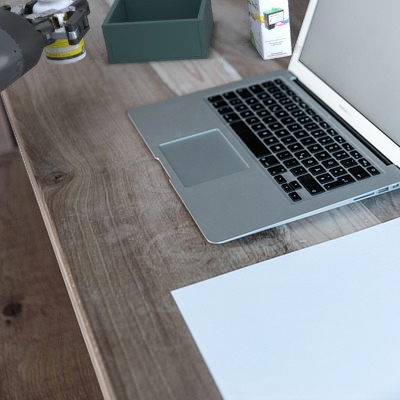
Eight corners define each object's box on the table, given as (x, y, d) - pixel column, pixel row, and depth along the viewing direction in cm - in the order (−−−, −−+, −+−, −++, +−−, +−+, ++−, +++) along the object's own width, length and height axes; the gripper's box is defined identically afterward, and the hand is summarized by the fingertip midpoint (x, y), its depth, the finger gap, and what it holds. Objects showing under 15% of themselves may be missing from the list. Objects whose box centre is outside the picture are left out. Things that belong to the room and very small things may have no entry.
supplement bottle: (92, 59, 95) (76, -14, 90) (52, 69, 93) (33, -5, 87) (79, 46, 99) (63, -24, 93) (40, 56, 97) (21, -16, 91)
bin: (109, 65, 114) (101, 25, 110) (126, 28, 126) (118, -8, 123) (207, 59, 114) (202, 19, 110) (213, 23, 127) (209, -13, 123)
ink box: (249, 42, 119) (242, -29, 113) (278, 37, 121) (272, -33, 114) (263, 61, 113) (256, -13, 106) (293, 56, 114) (288, -18, 107)
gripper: (40, 26, 77) (109, -23, 91) (-76, 20, 80) (8, -27, 94) (56, 89, 82) (120, 33, 95) (-54, 81, 84) (23, 28, 98)
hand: (64, 4), depth 94 cm, fingers closed on supplement bottle, 5 cm apart
